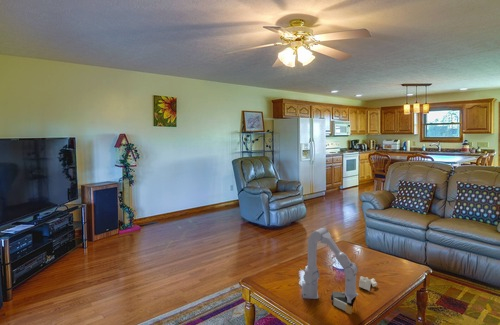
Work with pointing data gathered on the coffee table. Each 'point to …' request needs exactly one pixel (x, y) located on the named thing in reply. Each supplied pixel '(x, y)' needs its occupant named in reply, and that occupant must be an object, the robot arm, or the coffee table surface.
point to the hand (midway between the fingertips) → (350, 308)
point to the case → (339, 296)
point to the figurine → (366, 283)
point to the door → (342, 305)
